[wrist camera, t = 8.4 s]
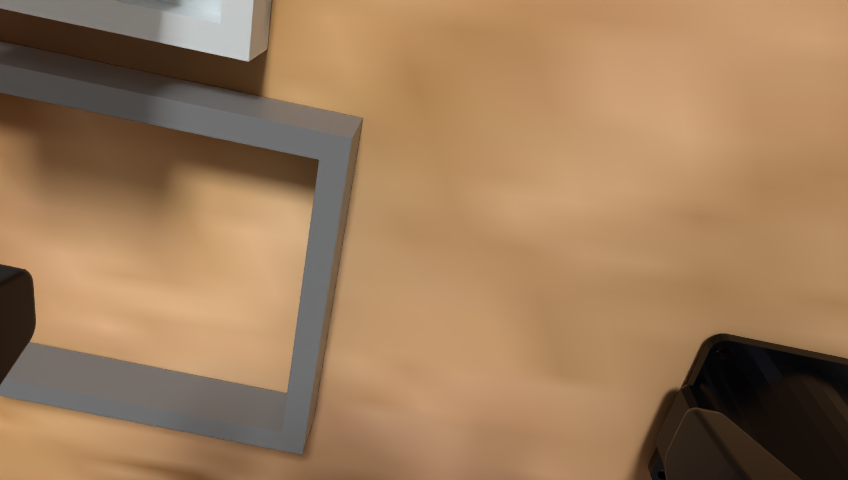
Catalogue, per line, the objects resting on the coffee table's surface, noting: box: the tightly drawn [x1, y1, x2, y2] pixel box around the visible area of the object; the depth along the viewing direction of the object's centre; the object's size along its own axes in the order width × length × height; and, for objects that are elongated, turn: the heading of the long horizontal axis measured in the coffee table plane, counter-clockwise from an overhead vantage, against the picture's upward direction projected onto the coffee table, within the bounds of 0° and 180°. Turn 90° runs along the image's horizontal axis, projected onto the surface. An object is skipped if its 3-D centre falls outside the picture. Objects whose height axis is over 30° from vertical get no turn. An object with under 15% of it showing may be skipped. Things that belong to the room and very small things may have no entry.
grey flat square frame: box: [0, 41, 363, 455], centre depth 21 cm, size 12×12×2 cm
